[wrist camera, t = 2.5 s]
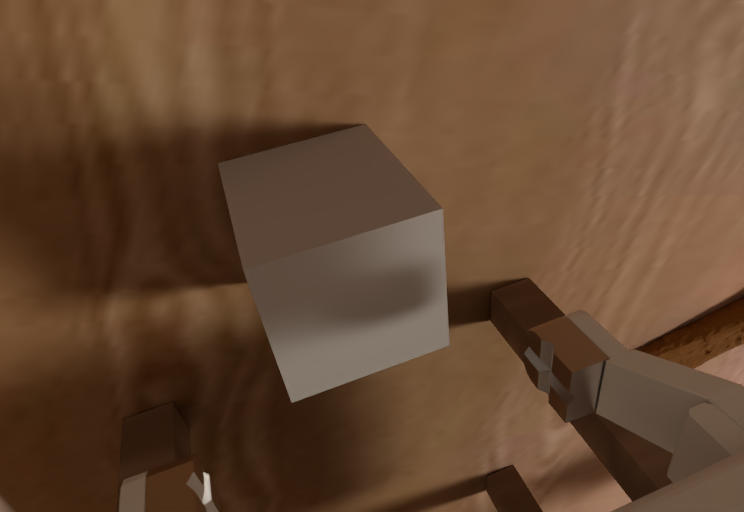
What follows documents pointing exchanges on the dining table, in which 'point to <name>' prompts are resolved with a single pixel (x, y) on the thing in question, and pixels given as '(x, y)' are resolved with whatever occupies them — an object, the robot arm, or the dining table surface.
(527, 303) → the stand
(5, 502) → the dining table surface
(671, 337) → the primitive tool
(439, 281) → the light grey block
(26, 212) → the dining table surface
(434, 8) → the dining table surface
